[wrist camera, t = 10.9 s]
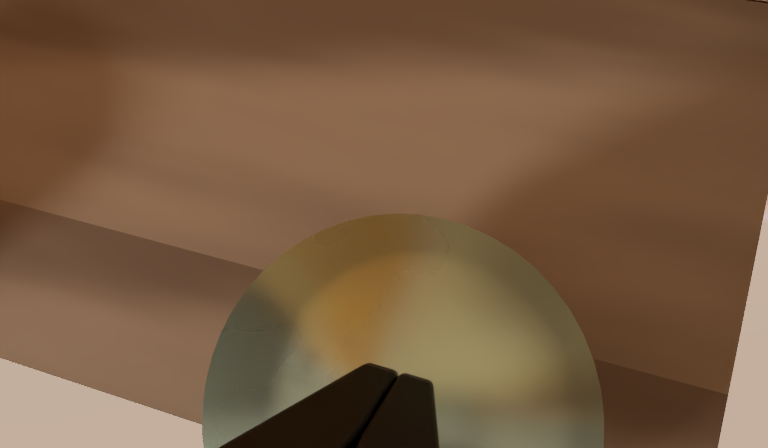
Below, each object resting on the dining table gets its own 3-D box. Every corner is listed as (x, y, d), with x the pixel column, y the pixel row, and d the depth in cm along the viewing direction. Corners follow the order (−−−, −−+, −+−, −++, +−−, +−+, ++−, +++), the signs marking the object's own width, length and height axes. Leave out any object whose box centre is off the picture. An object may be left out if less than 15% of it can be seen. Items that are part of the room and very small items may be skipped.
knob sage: (267, 177, 10) (152, 551, 9) (646, 265, 9) (548, 704, 8) (377, 260, 17) (320, 469, 16) (588, 314, 16) (536, 541, 15)
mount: (-186, -136, 17) (-348, 242, 16) (804, 8, 12) (689, 585, 11) (-30, -25, 22) (-145, 272, 21) (723, 112, 17) (637, 518, 15)
